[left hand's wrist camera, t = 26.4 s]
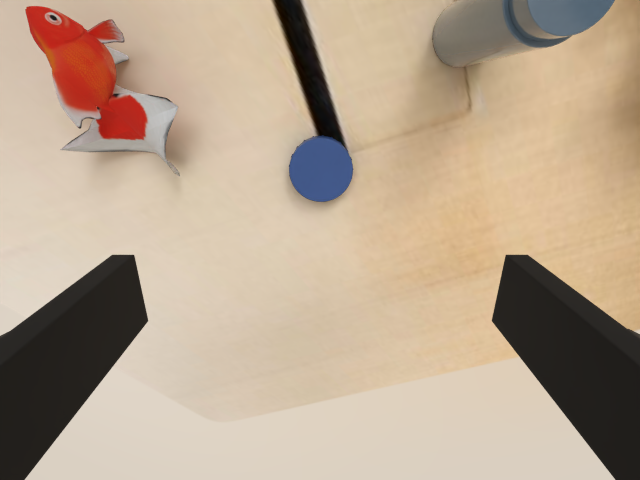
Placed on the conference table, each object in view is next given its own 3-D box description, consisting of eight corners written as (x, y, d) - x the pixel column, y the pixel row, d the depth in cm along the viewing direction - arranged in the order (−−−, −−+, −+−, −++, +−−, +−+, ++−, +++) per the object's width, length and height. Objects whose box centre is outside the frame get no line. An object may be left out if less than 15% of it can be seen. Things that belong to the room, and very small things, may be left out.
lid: (296, 201, 39) (295, 207, 37) (284, 141, 36) (282, 143, 34) (355, 191, 38) (357, 196, 36) (346, 130, 36) (348, 131, 34)
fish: (147, -35, 27) (54, 12, 21) (230, 141, 38) (187, 205, 32) (49, -8, 30) (-54, 39, 24) (152, 146, 42) (99, 205, 36)
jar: (497, -2, 32) (646, -87, 17) (487, 67, 34) (612, 42, 19) (435, -1, 32) (533, -85, 17) (429, 67, 34) (511, 43, 19)
